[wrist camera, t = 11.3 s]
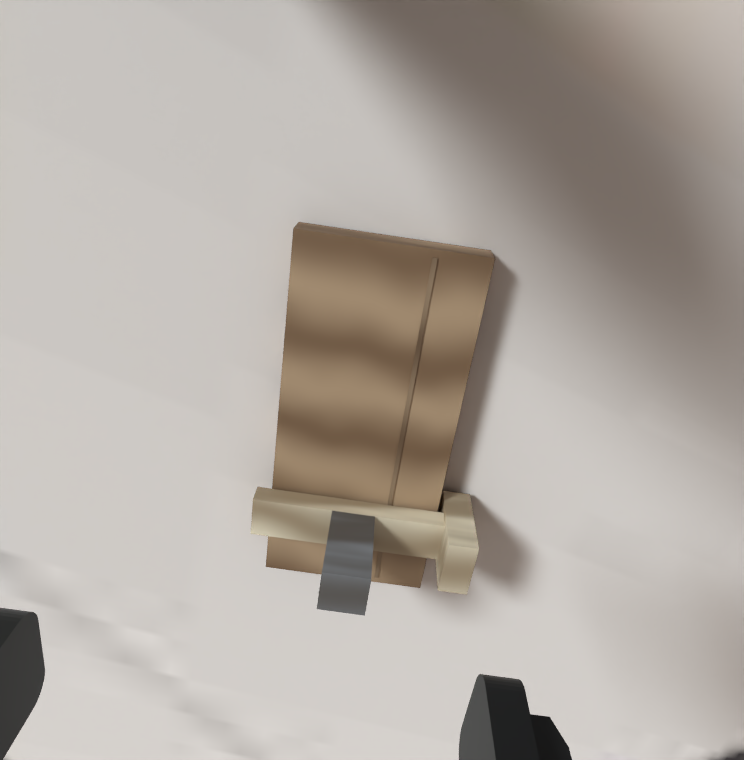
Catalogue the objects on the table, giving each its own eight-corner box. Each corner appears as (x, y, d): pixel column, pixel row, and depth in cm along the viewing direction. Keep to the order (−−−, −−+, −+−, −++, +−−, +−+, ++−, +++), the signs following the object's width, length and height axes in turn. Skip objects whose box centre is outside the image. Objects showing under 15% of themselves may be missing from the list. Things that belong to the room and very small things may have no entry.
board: (298, 221, 37) (293, 228, 35) (490, 250, 38) (495, 258, 36) (270, 549, 48) (265, 567, 46) (419, 569, 49) (419, 588, 47)
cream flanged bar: (263, 465, 45) (231, 553, 36) (469, 494, 45) (486, 588, 36) (260, 509, 46) (228, 602, 38) (459, 536, 47) (472, 636, 38)
